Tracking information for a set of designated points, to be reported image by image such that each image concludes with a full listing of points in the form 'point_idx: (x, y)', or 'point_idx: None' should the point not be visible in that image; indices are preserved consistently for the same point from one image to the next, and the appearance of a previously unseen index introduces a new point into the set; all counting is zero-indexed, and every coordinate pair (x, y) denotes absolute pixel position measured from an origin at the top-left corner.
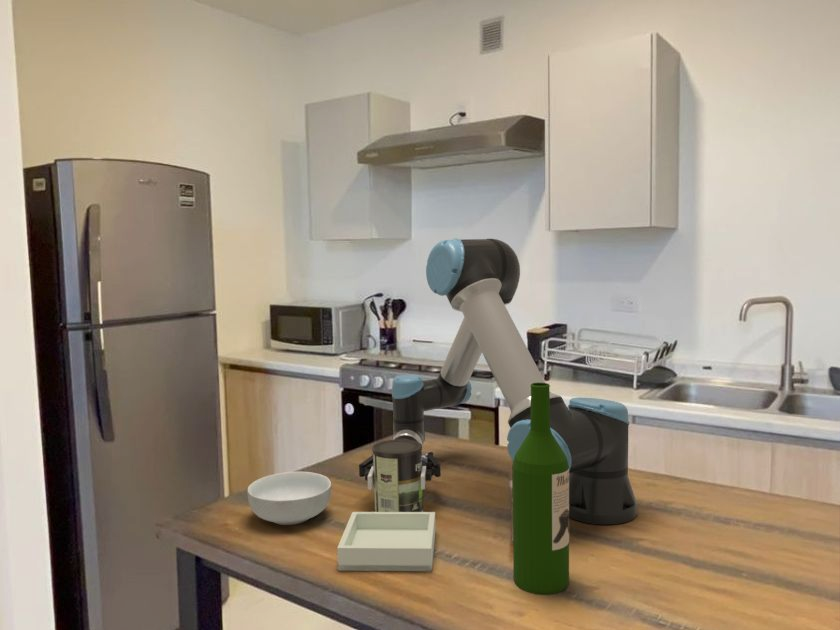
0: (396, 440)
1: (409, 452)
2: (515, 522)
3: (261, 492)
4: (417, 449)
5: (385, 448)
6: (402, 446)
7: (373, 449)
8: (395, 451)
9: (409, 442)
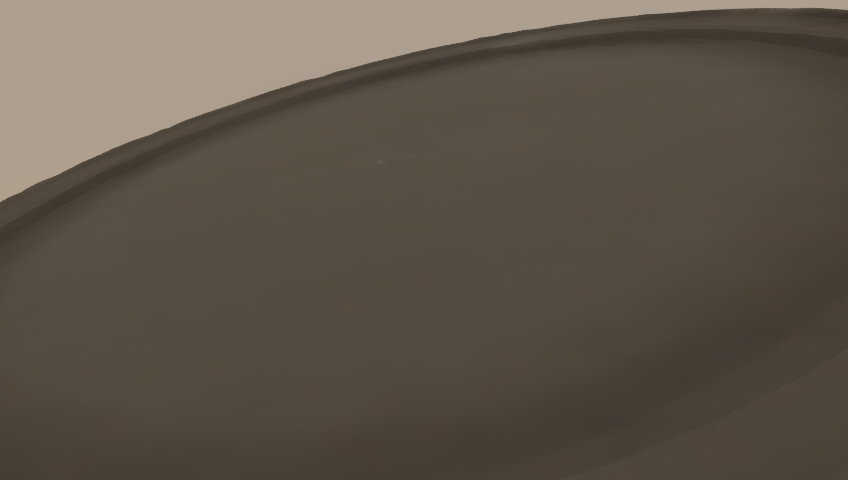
0: (758, 443)
1: (168, 132)
2: None
3: None
4: (21, 193)
5: (576, 78)
6: (287, 195)
7: (717, 13)
8: (363, 96)
9: (47, 474)
